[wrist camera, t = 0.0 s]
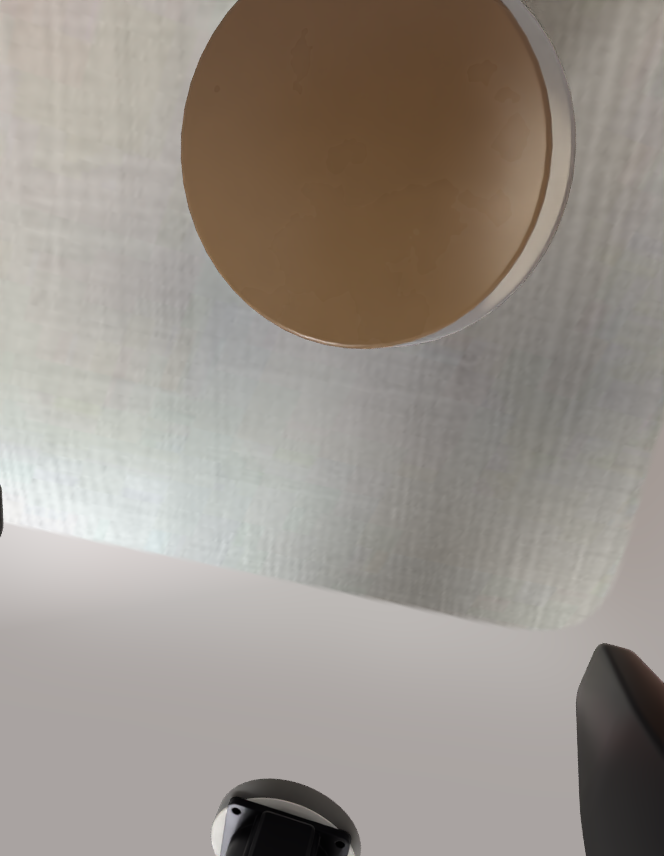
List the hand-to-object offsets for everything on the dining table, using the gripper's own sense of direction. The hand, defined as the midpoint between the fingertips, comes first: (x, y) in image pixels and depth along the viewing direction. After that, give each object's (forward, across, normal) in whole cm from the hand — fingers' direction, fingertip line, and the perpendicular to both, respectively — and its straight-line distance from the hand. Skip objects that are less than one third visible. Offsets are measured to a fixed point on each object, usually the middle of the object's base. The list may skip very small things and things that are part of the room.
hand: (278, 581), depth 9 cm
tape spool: (+14, 0, -6) cm, 16 cm away
